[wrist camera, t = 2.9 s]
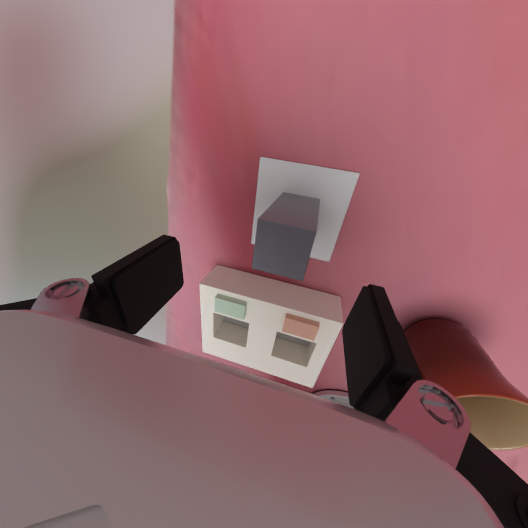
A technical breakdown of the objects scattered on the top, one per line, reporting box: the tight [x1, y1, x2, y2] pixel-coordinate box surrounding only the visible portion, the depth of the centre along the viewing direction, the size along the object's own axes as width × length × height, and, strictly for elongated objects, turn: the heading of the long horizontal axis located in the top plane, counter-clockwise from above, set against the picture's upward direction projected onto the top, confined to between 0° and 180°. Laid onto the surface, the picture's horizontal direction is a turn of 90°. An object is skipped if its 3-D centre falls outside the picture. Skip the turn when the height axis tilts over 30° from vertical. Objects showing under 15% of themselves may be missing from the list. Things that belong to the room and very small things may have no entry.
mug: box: [404, 319, 528, 450], centre depth 23 cm, size 12×9×10 cm
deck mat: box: [251, 157, 360, 262], centre depth 23 cm, size 10×10×1 cm
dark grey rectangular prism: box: [252, 192, 320, 281], centre depth 19 cm, size 4×4×10 cm
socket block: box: [200, 265, 343, 388], centre depth 30 cm, size 18×14×6 cm
